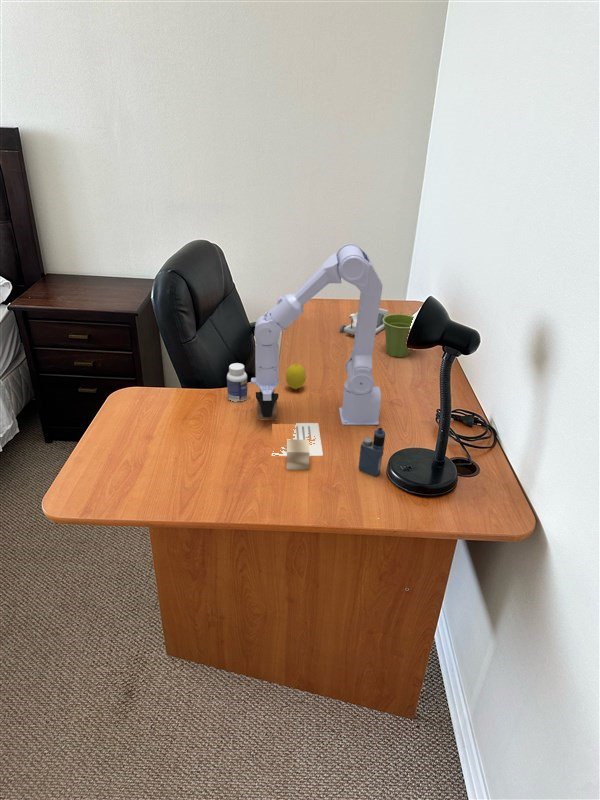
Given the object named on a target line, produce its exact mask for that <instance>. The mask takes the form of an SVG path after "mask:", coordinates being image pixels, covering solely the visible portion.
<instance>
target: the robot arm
mask: <svg viewBox="0 0 600 800" xmlns="http://www.w3.org/2000/svg"><path fill="white" fill-rule="evenodd" d="M342 280H343V281H344V282H347V283H349V284H351V285H353V286H355V287H356V288H357V289H358V290H359V291H360V293H359V294H360V295H359V301H358V307H357V309H358V310H357V313H358V315H357V323H356V330H355V335H354V339H353V347H352V350H351V351H350V357H349V359H347V362H345V363H346V364H345V368H344V369H345V372H346V376H347V379H346V380H345V382H344V383H343V394H342V396H343V397H342V406H341V407H338V411H339V417H340V422H341V425H342V426H371V425H372V426H377V425H379V424H380V421H379V420H380V411H381V403H382V392H381V389H380V386H377V385H376V386H375V380H374V376H373V374H372V373H373V354H374V353H373V352H374V345H375V338H376V334H377V333H376V327H377V320H378V314H379V308H381V307H380V305H381V300H382V293H383V283H382V281H381V279H380V277H379V275H378V273H377V271H376V269H375V267H374V265H373V263H372V262H371V260H370V258H369V256H368V254H367V252H365V251H364V250H363V249H362V248H361V247H360V246H358V245H357V244H354V243H346V244H344V245H342V246H341V247H339V249H338V250H337V253H336V251H335V252H333V254H331V255H330V256H329V257H328V258H327V259H326V261H324V263H323V264H321V266H319V268H318V269H317V270H316V271H315V272H314V273H313V274H312V275H311V276H310V277H309V278H308V279H307V280H306V281H305V283H303V284H302V285H301V286H300V288H298V290H296V291H295V292H294V293H286V294H285V295H284V296H282V295H280V296H279V297H278V298H277V302H276V304H275V305H273V306H272V307H271V308H270V310H268V311H267V310H266V311H264V312H263V315H261V316H260V317H258V318H257V320H256V321H255V324H254V327H255V328H254V339H255V349H254V352H255V357H254V358H255V360H254V361H255V362H254V363H255V377H251V379H250V383H251V384H254V385H256V387H257V388H258V390H259V391H256V392H255V399H256V400H258V402H259V404H260V407H261V411H262V415H263V417H271V416H272V413H273V408H274V405H275V402H276V401H277V402H278V399H279V393H275V390H276V388H277V387H278V385H280V378H279V376H280V375H279V374H280V373H279V369H280V368H279V367H280V366H279V364H280V363H279V361H280V360H279V359H280V356H279V355H280V347H279V342H278V341H279V339H280V336H281V335H280V333H281V332H283V331H285V330H286V329H287V328H288V327H289V326H290V325H291V324H292V323H294V321H295V320H297V319H298V318H300V316H301V315H302V314H303V313H304V306H305V304H306V303H308V302H309V301H310V300H311V299H312V298H313V297H315V296H316V295H317V294H318V293H319V292H320V291H322V290H323V289H324V288H325V287H327V286H328V285H329V284H342ZM375 333H376V334H375Z"/></svg>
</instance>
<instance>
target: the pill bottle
mask: <svg viewBox="0 0 600 800" xmlns="http://www.w3.org/2000/svg"><path fill="white" fill-rule="evenodd" d="M226 386H227V399H228V401H230V400H231V401H230V402H232V401H234V402H233V403H238V402H237V401H243V400H245V399H246V400H247V399H248V374H247V373H246V371H245V365H244V364H243V363H239V362H235V363H231V364H230V365H229V366H228V372H227V374H226ZM246 400H245V401H246ZM243 402H244V401H243Z"/></svg>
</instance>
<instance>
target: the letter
mask: <svg viewBox="0 0 600 800" xmlns="http://www.w3.org/2000/svg"><path fill="white" fill-rule="evenodd" d="M295 423H296V425H295V428H297V430H296V429H295V430H294V429H293V430H294V433H296V434H293V433H292V434H293V436H295V438H292V439H295V440H307V439H310V438H311V440H313V439H315V438H316V439H315V441H310V442H312V443H310V442H309V443H310V444H312V445H310V444H309V451H310V454H309V457H312V456H313V457H315V456H316V457H317V456H318V457H320V456H321V457H322V456H324V453H323V452H324V451H323V446H322V440H321V434H320V425H319V423H318V422H298V423H297V422H295ZM308 433H309V434H308ZM310 435H311V437H310V438H306V437H308V436H310ZM314 436H315V437H314ZM313 443H315V444H313ZM285 446H286V447H287V445H285ZM281 448H282V449H285V450H287V448H284V447H281ZM280 451H281V450H280ZM273 452H274V451H273ZM281 452H282V453H283V454H279V453H272V454H271V457H276V456H275V455H279V456H278V457H287V451H284V450H283V451H281ZM273 454H275V455H273Z"/></svg>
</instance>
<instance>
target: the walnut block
mask: <svg viewBox="0 0 600 800" xmlns="http://www.w3.org/2000/svg"><path fill="white" fill-rule="evenodd" d="M256 400H257V399H256ZM256 412H257V414H256V416H257V417H256V420H257V421H260V420H259V419H277V420H278V400H277V401H276V402H275V405H274V408H273V413H272V416H271V417H263V415H262V411H261V407H260V404H259V402H258V400H257V403H256Z"/></svg>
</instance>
